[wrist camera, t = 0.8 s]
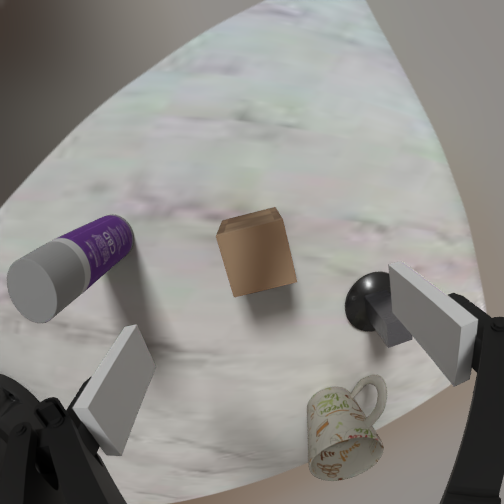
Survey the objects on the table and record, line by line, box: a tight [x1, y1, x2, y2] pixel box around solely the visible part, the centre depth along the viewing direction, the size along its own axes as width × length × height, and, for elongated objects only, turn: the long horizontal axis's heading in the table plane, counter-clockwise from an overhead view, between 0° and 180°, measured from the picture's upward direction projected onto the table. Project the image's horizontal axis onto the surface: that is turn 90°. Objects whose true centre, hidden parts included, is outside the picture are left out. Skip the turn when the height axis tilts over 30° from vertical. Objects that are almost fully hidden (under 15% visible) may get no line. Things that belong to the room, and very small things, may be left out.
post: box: [345, 272, 412, 348], centre depth 30 cm, size 7×7×7 cm
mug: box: [307, 375, 387, 481], centre depth 32 cm, size 8×13×10 cm, turn 154°
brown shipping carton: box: [216, 207, 297, 297], centre depth 28 cm, size 5×5×7 cm
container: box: [7, 215, 134, 323], centre depth 24 cm, size 5×5×15 cm
